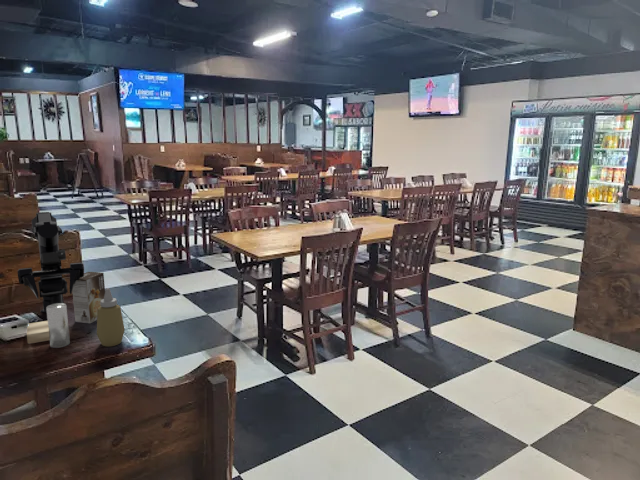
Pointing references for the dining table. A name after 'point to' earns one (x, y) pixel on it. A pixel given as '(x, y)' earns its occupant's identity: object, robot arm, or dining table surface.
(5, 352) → the dining table surface
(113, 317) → the squeeze bottle
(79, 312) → the coffee box
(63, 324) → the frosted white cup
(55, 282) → the robot arm
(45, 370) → the dining table surface
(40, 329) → the block
